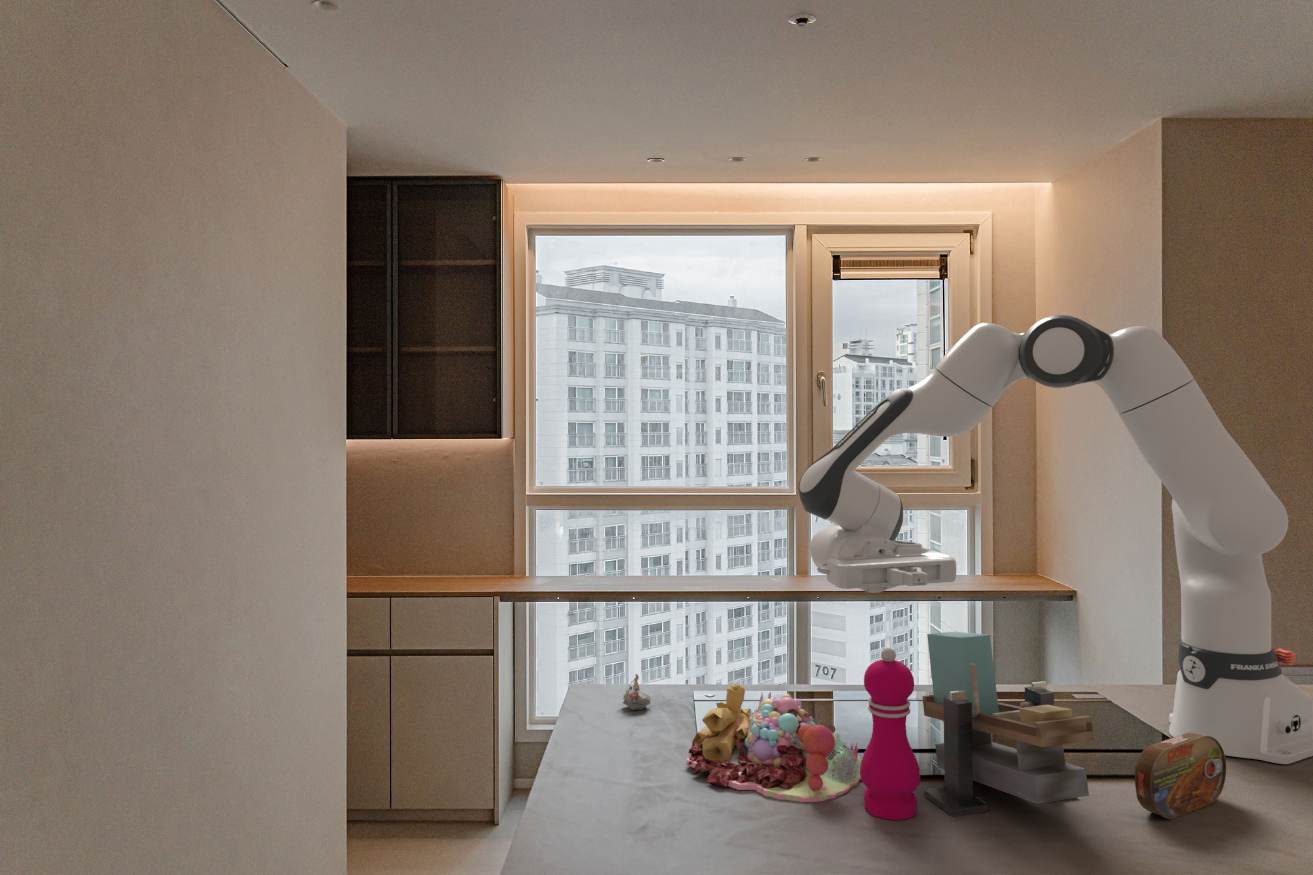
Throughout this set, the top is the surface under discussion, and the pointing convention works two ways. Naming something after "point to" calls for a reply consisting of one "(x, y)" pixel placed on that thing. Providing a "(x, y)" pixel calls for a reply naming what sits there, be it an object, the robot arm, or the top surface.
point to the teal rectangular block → (963, 667)
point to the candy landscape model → (773, 750)
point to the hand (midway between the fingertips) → (919, 580)
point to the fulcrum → (967, 751)
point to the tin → (1180, 775)
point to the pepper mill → (889, 741)
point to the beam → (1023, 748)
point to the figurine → (636, 697)
